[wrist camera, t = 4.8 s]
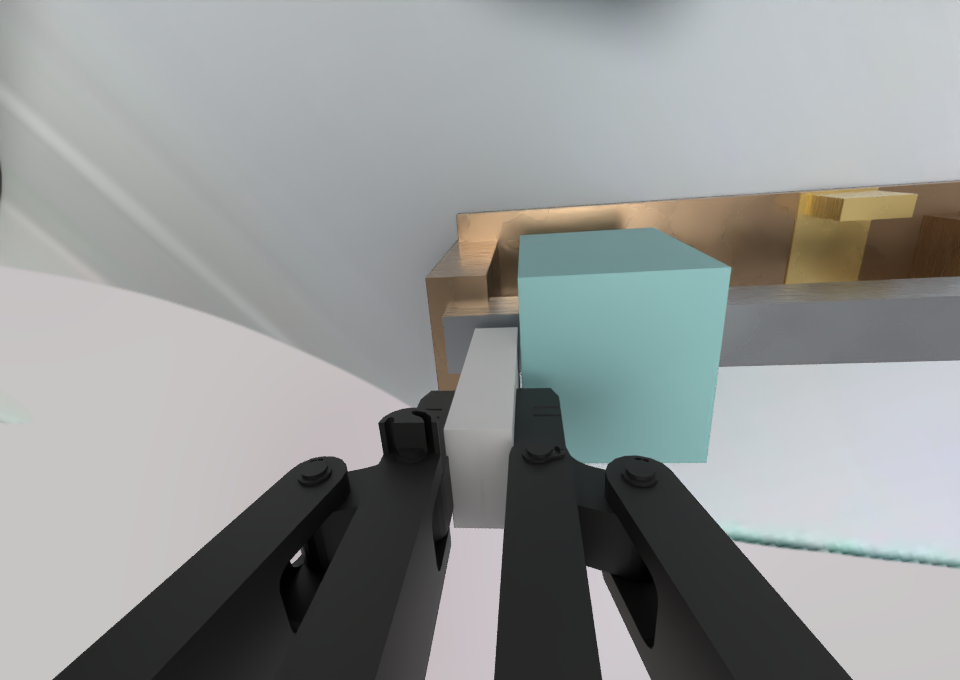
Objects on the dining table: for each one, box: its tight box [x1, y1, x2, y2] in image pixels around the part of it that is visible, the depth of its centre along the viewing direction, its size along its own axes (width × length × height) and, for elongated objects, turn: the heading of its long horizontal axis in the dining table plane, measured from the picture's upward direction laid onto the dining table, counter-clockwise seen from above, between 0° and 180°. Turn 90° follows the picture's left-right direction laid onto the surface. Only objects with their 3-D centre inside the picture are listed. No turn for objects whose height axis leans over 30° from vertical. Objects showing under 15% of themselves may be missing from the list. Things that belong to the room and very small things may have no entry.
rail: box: [426, 180, 960, 391], centre depth 21 cm, size 26×8×10 cm, turn 94°
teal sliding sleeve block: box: [518, 227, 731, 463], centre depth 18 cm, size 6×7×8 cm
